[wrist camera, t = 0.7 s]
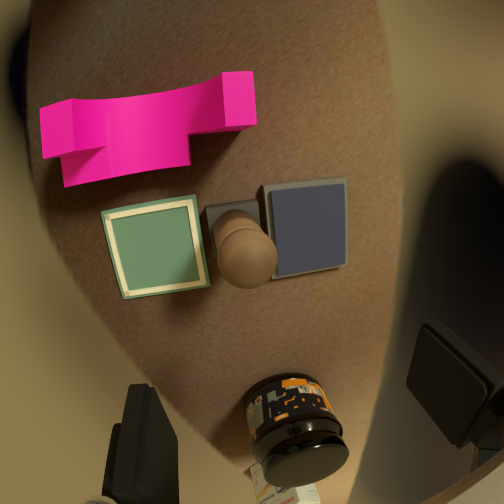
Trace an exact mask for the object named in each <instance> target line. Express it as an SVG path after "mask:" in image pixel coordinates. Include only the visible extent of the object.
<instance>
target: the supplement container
mask: <svg viewBox="0 0 504 504" xmlns="http://www.w3.org/2000/svg"><path fill="white" fill-rule="evenodd" d="M244 410H245V415H246V418H247V422H248V426H249V431H250V436H251V440H252V444H253V454H254V457H255V459H256V461H257V462H258V463H259V464H260V465H261V468H262V472H263V476H264V479H265V481H266V482H267V483H268V484H270V485H272V486H275V487H280V488H293V487H300V486H305V485H309V484H312V483H315V482H317V481H320V480H322V479H324V478H326V477H328V476H330V475H332V474H333V473H335V472H336V471H337V470H339V469H340V468H341V467H342V466H343V465H344V463H345V462H346V461H347V459H348V456H349V450H348V448H347V446H346V444H345V442H344V440H343V438H342V436H343V428H342V426H341V424H340V422H339V421H338V420H337V418H336V416H335V414H334V412H333V410H332V408H331V406H330V404H329V402H328V400H327V398H326V397H325V395H324V393H323V389H322V387H321V385H320V384H319V383H318V381H316V380H315V379H314V378H312V377H311V376H309V375H306V374H302V373H284V374H280V375H276V376H273V377H270V378H268V379H266V380H264V381H262V382H261V383H259V384H258V385H257V386H256V387H255V388H253V389H252V391H251V392H250V393H249V395H248V396H247V398H246V401H245V406H244Z"/></svg>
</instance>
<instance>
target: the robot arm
mask: <svg viewBox="0 0 504 504" xmlns="http://www.w3.org/2000/svg"><path fill="white" fill-rule="evenodd" d="M503 383H504V377H503V376H502V375H500V374H499V373H498V372H497V371H496V370H495V369H494V368H493V367H492V366H491V365H490V364H488V362H486V361H485V360H484V359H483V358H482V357H481V356H480V355H478V354H477V353H476V352H475V351H474V350H473V349H472V348H470V347H469V346H468V345H467V344H466V343H465V342H464V341H462V340H461V339H460V338H459V337H458V336H457V335H455V334H454V333H453V332H452V331H451V330H450V329H448V328H447V327H446V326H445V325H444V324H442V323H441V322H440V321H438V320H432V321H429V322H427V323H424V324H423V325H422V326H421V329H420V330H419V332H418V337H417V341H416V345H415V349H414V354H413V357H412V361H411V365H410V369H409V373H408V376H407V380H406V384H407V387H408V389H409V390H410V392H411V393H412V394H413V395H414V396H415V398H416V399H417V400H418V401H419V403H420V404H421V405H422V407H423V408H424V409H425V410H426V412H427V413H428V414H429V416H430V417H431V418H432V419H433V421H434V422H435V423H436V425H437V426H438V427H439V428H440V430H441V431H442V432H443V434H444V435H445V436H446V438H447V439H448V440H449V442H450V443H451V444H453V445H456V446H457V448H458V449H460V448H462V447H464V446H465V445H467V444H468V443H469V442H470V440H471V442H472V443H473V454H472V464H471V472H470V474H469V475H467V476H466V477H464V478H463V479H461V480H460V481H458V482H457V483H455V484H454V485H452V486H451V487H449V488H447V489H446V490H444V491H443V492H441V493H439V494H437V495H436V496H434V497H432V498H431V499H429V500H427V501H425V502H424V503H422V504H504V384H503ZM80 504H179V480H178V441H177V436H176V434H175V432H174V430H173V428H172V426H171V424H170V422H169V419H168V417H167V415H166V413H165V411H164V408H163V406H162V404H161V402H160V399H159V397H158V395H157V392H156V390H155V388H154V387H149V385H148V384H146V383H145V384H132V385H130V386H129V389H128V394H127V398H126V403H125V408H124V413H123V418H122V423H116V424H115V425H114V426H113V429H112V434H111V439H110V444H109V450H108V455H107V461H106V468H105V474H104V481H103V487H102V495H95V496H90V497H88V498H86V499H84V500H83V501H82V502H81V503H80Z"/></svg>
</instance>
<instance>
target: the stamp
mask: <svg viewBox="0 0 504 504" xmlns="http://www.w3.org/2000/svg"><path fill="white" fill-rule="evenodd" d="M206 212H207V219H208V226H209V232H210V239H211V245H212V251H213V258H217V264H218V267H219V270H220V272H221V274H222V276H223V277H224V278H225V279H226V280H227V281H228V282H229V283H230V284H232V285H234V286H236V287H238V288H243V289H252V288H256V287H259V286H261V285H263V284H265V283H266V282H267V281H268V280H269V279H270V278H271V277H272V276H273V274H274V272H275V270H276V267H277V262H278V255H277V250H276V247H275V245H274V243H273V241H272V240H271V239H270V238H269V237H268V236H267V235H266V234H265V233H264V232H263V230H262V229H261V227H260V217H259V207H258V201H256V200H255V199H251V200H244V201H237V202H230V203H223V204H216V205H209V206H206Z"/></svg>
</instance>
